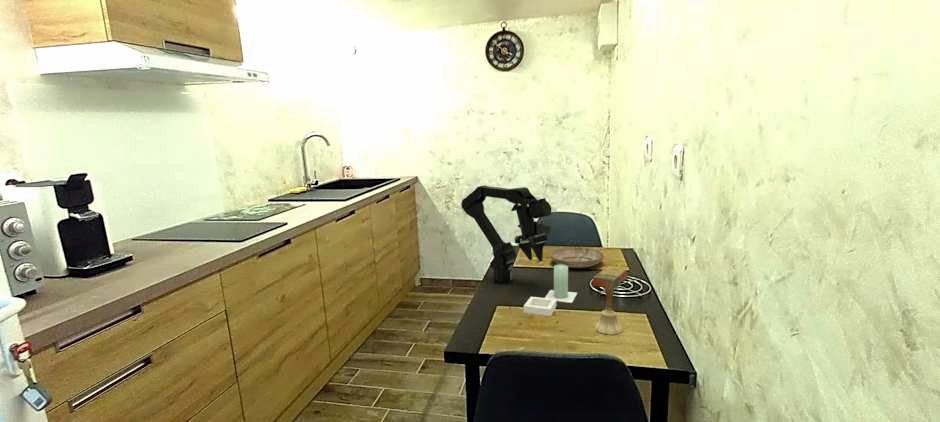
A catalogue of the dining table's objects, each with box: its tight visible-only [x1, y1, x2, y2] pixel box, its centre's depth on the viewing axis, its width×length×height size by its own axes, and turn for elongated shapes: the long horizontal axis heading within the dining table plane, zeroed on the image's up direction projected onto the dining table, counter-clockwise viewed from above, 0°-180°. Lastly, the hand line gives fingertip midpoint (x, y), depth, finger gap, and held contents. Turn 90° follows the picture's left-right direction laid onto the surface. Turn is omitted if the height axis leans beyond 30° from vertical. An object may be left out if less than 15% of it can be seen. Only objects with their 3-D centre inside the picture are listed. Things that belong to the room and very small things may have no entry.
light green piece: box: [553, 264, 569, 298], centre depth 169 cm, size 5×5×11 cm
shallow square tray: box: [523, 296, 557, 317], centre depth 159 cm, size 9×9×3 cm
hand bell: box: [594, 279, 623, 336], centre depth 142 cm, size 8×8×16 cm
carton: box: [592, 265, 628, 289], centre depth 185 cm, size 8×16×4 cm, turn 144°
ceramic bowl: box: [549, 247, 605, 269], centre depth 209 cm, size 23×24×5 cm
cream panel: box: [544, 289, 578, 304], centre depth 170 cm, size 10×10×1 cm
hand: (535, 260), depth 178 cm, fingers open, 9 cm apart
